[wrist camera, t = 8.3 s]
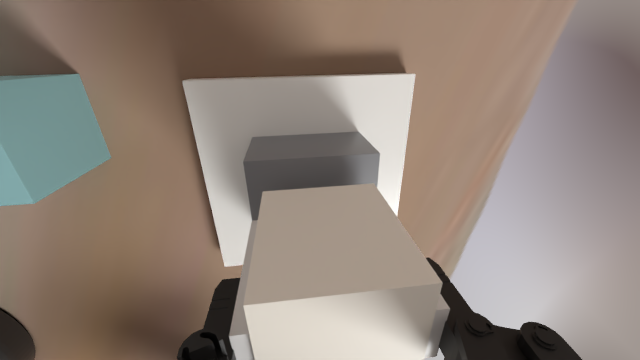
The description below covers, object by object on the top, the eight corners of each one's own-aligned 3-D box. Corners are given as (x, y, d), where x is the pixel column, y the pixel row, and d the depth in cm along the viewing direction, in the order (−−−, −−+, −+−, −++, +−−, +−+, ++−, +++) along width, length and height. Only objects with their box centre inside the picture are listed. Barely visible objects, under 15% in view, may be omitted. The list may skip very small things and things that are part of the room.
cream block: (273, 276, 16) (266, 414, 10) (262, 191, 14) (243, 305, 7) (367, 266, 17) (416, 391, 11) (373, 183, 14) (442, 282, 8)
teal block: (25, 162, 20) (-97, 213, 13) (-22, 76, 17) (-201, 88, 11) (111, 157, 20) (34, 203, 14) (79, 73, 18) (-34, 83, 11)
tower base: (227, 255, 25) (211, 315, 20) (189, 78, 18) (146, 89, 13) (387, 239, 27) (415, 290, 21) (406, 72, 20) (456, 79, 14)
